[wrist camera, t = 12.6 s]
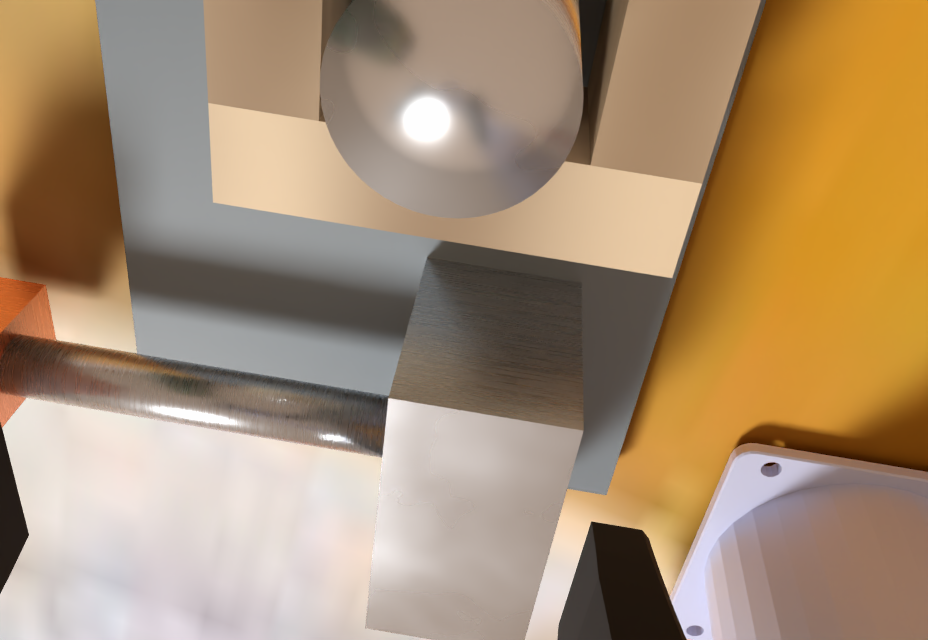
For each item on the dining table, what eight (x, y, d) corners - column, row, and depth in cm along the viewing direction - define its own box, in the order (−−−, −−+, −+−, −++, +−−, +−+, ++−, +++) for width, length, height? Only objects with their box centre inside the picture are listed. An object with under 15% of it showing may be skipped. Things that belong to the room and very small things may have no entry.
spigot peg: (597, -117, 15) (618, -1, 9) (552, 53, 16) (545, 241, 11) (424, -158, 14) (333, -68, 9) (397, 18, 16) (308, 189, 11)
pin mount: (581, 282, 19) (583, 430, 15) (529, 493, 23) (520, 654, 19) (427, 257, 19) (388, 397, 15) (401, 471, 23) (365, 628, 19)
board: (850, -316, 14) (869, -318, 13) (605, 468, 24) (606, 495, 23) (73, -437, 14) (42, -447, 13) (159, 393, 24) (145, 417, 23)
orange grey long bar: (477, 356, 20) (456, 492, 17) (465, 425, 22) (443, 565, 18) (-45, 270, 20) (-178, 386, 17) (-27, 342, 22) (-146, 466, 18)
